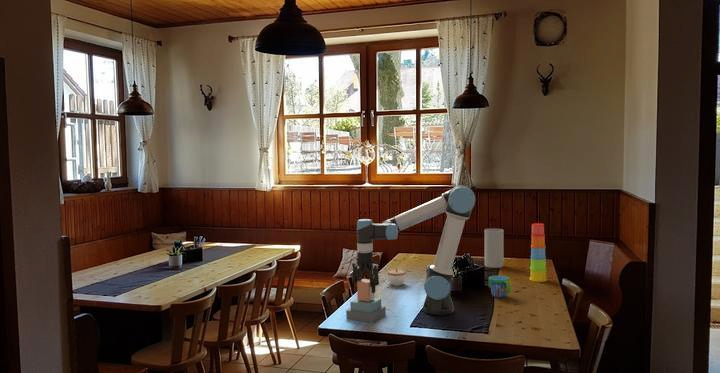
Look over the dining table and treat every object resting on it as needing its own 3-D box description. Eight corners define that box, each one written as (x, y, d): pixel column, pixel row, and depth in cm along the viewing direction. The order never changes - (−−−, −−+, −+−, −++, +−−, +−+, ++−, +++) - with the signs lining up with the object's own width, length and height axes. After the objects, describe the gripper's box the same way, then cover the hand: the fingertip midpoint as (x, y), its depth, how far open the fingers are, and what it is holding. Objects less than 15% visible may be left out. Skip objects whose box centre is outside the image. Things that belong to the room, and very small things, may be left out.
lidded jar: (385, 285, 315) (385, 270, 314) (391, 281, 325) (390, 266, 324) (402, 287, 311) (402, 271, 310) (408, 283, 321) (407, 267, 320)
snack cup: (482, 293, 294) (482, 275, 294) (498, 291, 298) (498, 273, 297) (499, 300, 280) (499, 281, 279) (515, 298, 283) (516, 279, 283)
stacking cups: (550, 280, 319) (551, 223, 317) (537, 282, 315) (537, 225, 313) (539, 277, 329) (539, 221, 326) (525, 279, 325) (525, 222, 322)
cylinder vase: (481, 265, 365) (481, 229, 364) (497, 263, 369) (497, 228, 367) (490, 269, 353) (490, 231, 352) (507, 267, 357) (507, 230, 355)
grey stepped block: (385, 314, 260) (385, 298, 260) (372, 322, 248) (371, 305, 247) (360, 310, 267) (360, 294, 266) (346, 318, 255) (346, 302, 254)
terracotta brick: (374, 298, 258) (374, 280, 258) (368, 301, 253) (368, 282, 252) (363, 296, 261) (363, 278, 260) (357, 299, 256) (357, 281, 255)
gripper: (386, 251, 254) (386, 298, 256) (351, 248, 263) (352, 294, 265) (378, 254, 247) (379, 303, 249) (344, 251, 257) (345, 298, 258)
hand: (365, 298), depth 257 cm, fingers closed on terracotta brick, 6 cm apart
